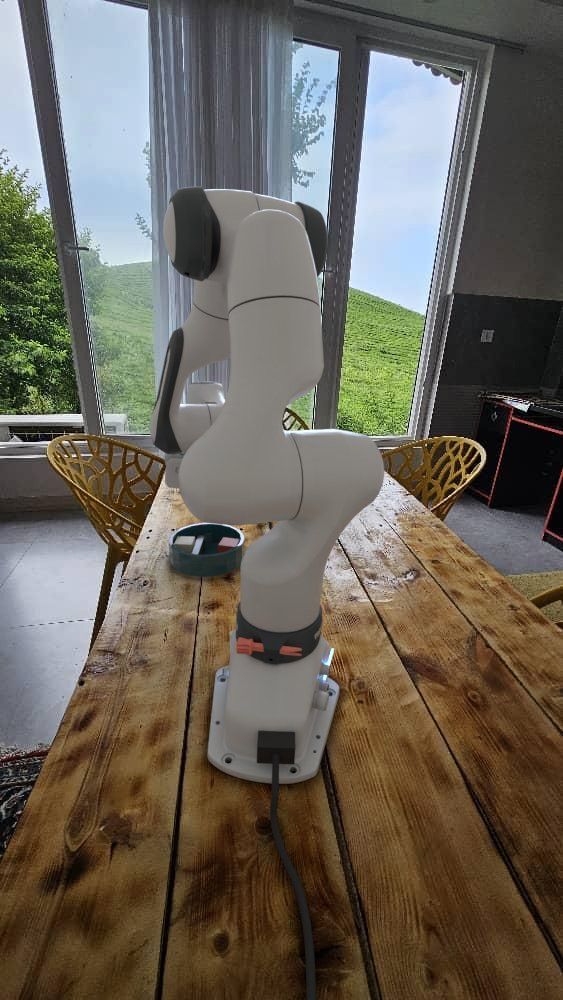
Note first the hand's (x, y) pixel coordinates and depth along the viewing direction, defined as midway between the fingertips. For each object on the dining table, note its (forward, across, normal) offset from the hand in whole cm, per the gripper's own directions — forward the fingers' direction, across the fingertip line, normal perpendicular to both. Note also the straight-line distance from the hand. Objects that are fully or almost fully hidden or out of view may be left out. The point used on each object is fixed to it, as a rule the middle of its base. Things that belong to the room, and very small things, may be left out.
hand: (208, 506), depth 109 cm
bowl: (+8, +3, -11) cm, 14 cm away
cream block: (+8, -2, -11) cm, 14 cm away
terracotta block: (+8, +8, -10) cm, 15 cm away
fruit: (+9, +12, +11) cm, 19 cm away
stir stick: (+8, +1, -12) cm, 14 cm away
